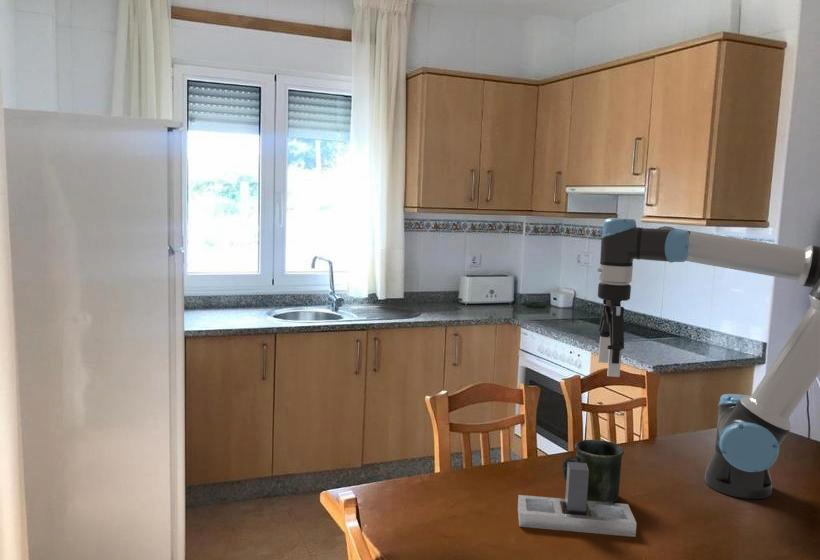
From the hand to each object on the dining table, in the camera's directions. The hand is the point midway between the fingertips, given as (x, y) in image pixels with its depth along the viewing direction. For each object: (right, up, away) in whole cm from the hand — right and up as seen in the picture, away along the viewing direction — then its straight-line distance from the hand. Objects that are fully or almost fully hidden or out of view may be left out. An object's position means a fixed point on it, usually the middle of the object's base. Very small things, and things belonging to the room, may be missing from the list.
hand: (608, 369), depth 166 cm
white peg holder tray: (-13, -31, -18) cm, 38 cm away
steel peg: (-13, -30, -18) cm, 37 cm away
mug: (-6, -30, -5) cm, 31 cm away
